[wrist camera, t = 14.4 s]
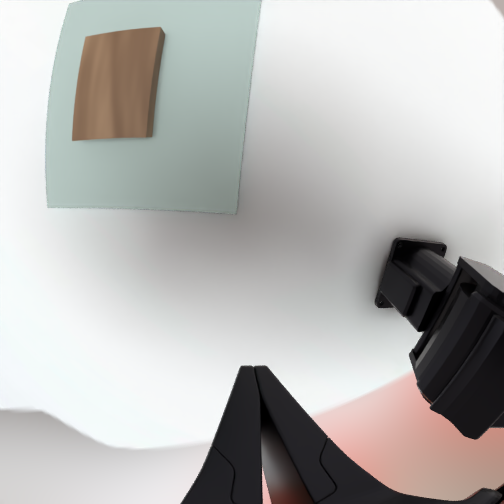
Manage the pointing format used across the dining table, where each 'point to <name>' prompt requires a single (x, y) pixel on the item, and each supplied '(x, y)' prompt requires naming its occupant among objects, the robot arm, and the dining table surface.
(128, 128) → the brown wooden block
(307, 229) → the dining table surface
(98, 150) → the mat
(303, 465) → the robot arm
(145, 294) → the dining table surface
